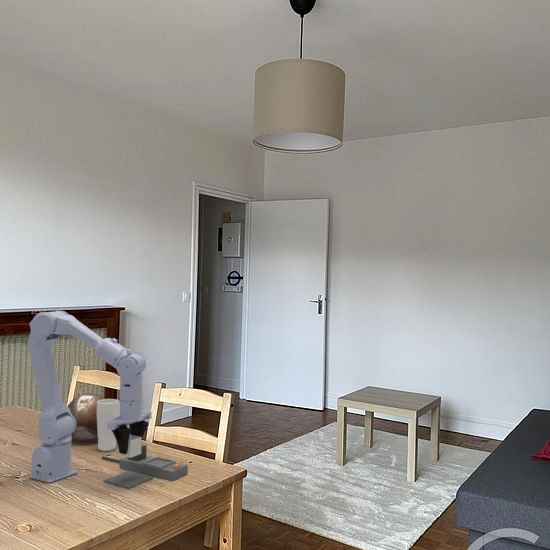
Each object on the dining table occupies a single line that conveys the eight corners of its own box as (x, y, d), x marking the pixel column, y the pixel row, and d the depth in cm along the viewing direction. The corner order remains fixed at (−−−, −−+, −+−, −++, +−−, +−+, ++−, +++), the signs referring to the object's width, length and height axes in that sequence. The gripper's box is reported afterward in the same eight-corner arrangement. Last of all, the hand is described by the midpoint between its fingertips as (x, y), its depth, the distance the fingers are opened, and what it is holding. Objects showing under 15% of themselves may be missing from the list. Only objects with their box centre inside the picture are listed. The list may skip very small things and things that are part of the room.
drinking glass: (104, 453, 169) (105, 404, 169) (90, 449, 173) (92, 401, 173) (122, 448, 174) (123, 400, 174) (109, 444, 178) (110, 397, 179)
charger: (130, 457, 144) (130, 440, 144) (117, 455, 146) (117, 438, 146) (141, 453, 148) (141, 436, 148) (128, 450, 150) (129, 434, 150)
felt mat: (129, 488, 141) (129, 487, 141) (103, 481, 145) (103, 480, 145) (153, 478, 149) (153, 476, 149) (128, 472, 153) (128, 470, 153)
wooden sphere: (60, 447, 174) (62, 399, 174) (65, 434, 189) (66, 390, 189) (110, 444, 178) (111, 398, 178) (111, 432, 193) (112, 389, 193)
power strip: (172, 480, 147) (172, 458, 147) (94, 461, 161) (94, 441, 161) (187, 473, 153) (188, 452, 153) (110, 455, 167) (111, 436, 167)
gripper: (122, 406, 139) (120, 461, 139) (160, 396, 152) (159, 446, 151) (101, 403, 142) (100, 456, 142) (141, 393, 155) (139, 442, 155)
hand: (129, 451), depth 147 cm, fingers closed on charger, 4 cm apart
